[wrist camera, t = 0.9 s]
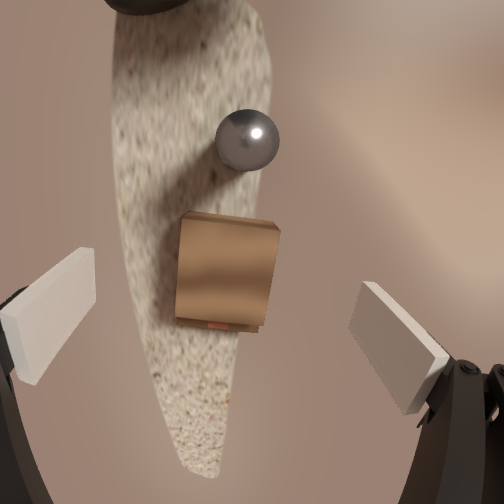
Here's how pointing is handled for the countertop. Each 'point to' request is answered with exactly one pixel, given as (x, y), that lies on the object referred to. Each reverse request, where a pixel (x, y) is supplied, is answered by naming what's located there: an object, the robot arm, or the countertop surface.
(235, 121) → the column
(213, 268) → the step block
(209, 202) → the countertop surface
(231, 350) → the countertop surface
